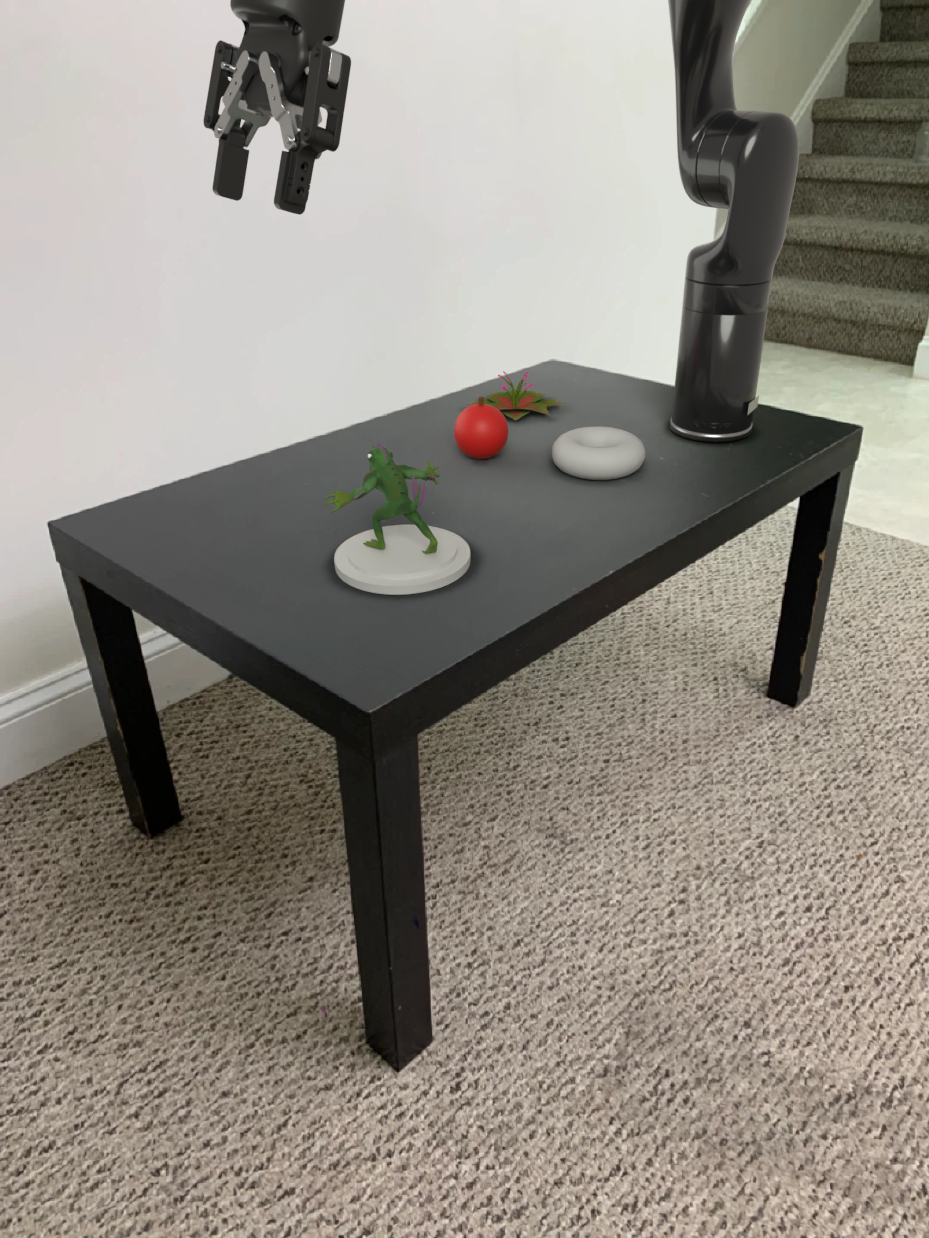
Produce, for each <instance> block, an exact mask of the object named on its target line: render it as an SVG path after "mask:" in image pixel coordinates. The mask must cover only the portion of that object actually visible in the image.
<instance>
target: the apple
mask: <svg viewBox="0 0 929 1238" xmlns="http://www.w3.org/2000/svg"><path fill="white" fill-rule="evenodd" d="M484 398H485V396H484V395H479V396H477V401H478V404H474V405H471V406H469V405H468V406H467V407H466V408H464V409H462V411H461V412H460V413H459V414H458V416H457V418H456V420H455V422H454V428H453V437H454V441H455V443H456V445H457V446H458V449H460V451H461V452H463V453H464V454H465V455H466V456H468V457H470V458H472V459H477V460H485V459H489V458H492V457H494V456H496V455H497V454H499V453H500V452H501V451H502V450H503V449H504V447H505V445H506V443H507V441H508V437H509V423H508V420H507V418H506V417H505V414H503V413H502V412H501V410H498V409H497V408H495V407H494V406H492V405H489V404H484V400H485V399H484Z"/></svg>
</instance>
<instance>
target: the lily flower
mask: <svg viewBox="0 0 929 1238" xmlns="http://www.w3.org/2000/svg"><path fill="white" fill-rule="evenodd" d="M502 373H503V374H504V375H506V378H505V377H504V376H502V375H501V374H497V377H499V378H502V379H503V380H504V381H505V382H504V385H505V386H507V387H508V388H509V389H508V388H507V387H505V386H503V385H500V388H501V389H502V390H504V391H498V392H497V391H496V392H494V393H491V394H486V395H484V397H486V398H487V399H484V404H489V405H492V406H494V407H495V408H497V409H498V410H499V411H500V412H501V413H502V414H503V415H504V416H507V417H508V418H511V419H512V420H514V421H517V420H519V419H521V417H524V416H525V415H528V414H529V413H530V412H531V411H534V412H537V413H541V414H545V415H547V416H550V413H549V411H548V407H551V406H559V405H566V403H565V402H560V401H556V400H555V399H549V398H545V399H543V398H544V396H547V394H546V393H541V392H536V391H532V390H529V389H530V388H532V387H533V386H534V385H535V384H534V383H533V382H532V383H530V384H529V385H528V386H527V387H525V386H526V385H527V384H528V383H527V382H524V381H525V379H527V378H528V377H529V375H530V374H529V370H527V371H526V372H525V373H524V375H523V376H522V378H521V379H520V381H519V382H518V385H517V388H515V386H514V384H513V382H512V380H511V379H510V377H509V376H508V374H507V372H505V370H503V371H502ZM523 387H525V388H524V390H522V389H523ZM527 390H528V391H527ZM474 404H478V400H477V401H474V402H472V403H469V404H467V406H468V407H469V406H471V405H474Z"/></svg>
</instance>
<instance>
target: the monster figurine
mask: <svg viewBox="0 0 929 1238" xmlns="http://www.w3.org/2000/svg"><path fill="white" fill-rule="evenodd" d="M368 441H369V442H370V443H371V445H372V449H371V450H369V451H368V452H367V460H368V462H369V464H368V469H369V472H367V473H366V474H365V475H364V477H363V479H362V480H363V481H362V486H358V487H356V488H354V489H353V490H352V491H350V492H345V491H342V490H339V489H333V492H334V493H329V494H328V495H326V497H325V498H324V500H328V499H330V498H334V499H331V500H329V501H327V502H326V503H324V504H323V506H324V507H325V506H328V505H332V504H333V505H336V507H335V508H334V509H333V510H332V511H331V512H330V513H331V514H332V513H334V512H336V511H338V510H340V509H342V508H343V507H345V506H347V505H348V504H350V503H351V502H353V501H357V500H360V499H362V498H364V497H366V496H367V495H369V493H371V492H372V491H373V490H374V489H376V490H378V491H380V493H382V499H383V504H381V506H379V507H378V508H377V509H376V510H375V511H374V512H373V513H372V517H371V521H372V528H371V529H367V530H365V531H361V532H359V533H357V534H355V535H353V536H351V537H349V538H348V539H346V540H344V542H342V543H341V544H340V545H339V546H338V547H337V548H336V550H335V553H334V555H333V556H334V557H333V562H334V569H335V573H336V575H337V576H338V578H339V579H341V581H342V582H344V583H345V584H347V585H348V586H351V587H353V588H355V589H358V590H361V591H364V592H368V593H373V594H380V595H390V596H391V595H394V596H396V595H397V596H401V595H412V594H413V595H414V594H422V593H427V592H431V591H435V590H437V589H441V588H443V587H445V586H448V585H450V584H453V583H454V582H456V581H458V580H459V579H460V578H461V577H463V576H464V575H465V574H466V573H467V571H468V570H469V568H470V567H471V561H472V559H471V548H470V545H469V544H468V542H467V541H466V539H464V538H462V536H460V535H459V534H456V533H455V532H453V531H450V530H447V529H445V528H441V527H437V526H431V525H428V524H427V523H426V522H425V521H424V520H423V519H422V517H421V515H420V514H419V512H418V511H417V510H418V508H419V507H422V506H423V505H424V503H425V501H426V496H427V482H426V481H431V482H433V483H435V485H438V484H439V482H438V480H437V478H440V477H441V474H440V473H436V472H435V471H436V470H438V469H439V466H437V465H436V466H432V465H431V463H430V460H429V459H427V460H426V467H425V469H423V470H421V469H418V468H416V467H413V466H409V465H406V464H399V465H398V464H396V463H395V461H394V459H393V452H391V451H389V450H388V449H387V448H386V447H384V445H382V444H381V442H378V443H377V444H376V445H374V444H373V442H372V440H371V438H368ZM419 479H421V480H423V481H425V482H424V485H422V483H421V482H419V483H417V481H416V480H419ZM406 480H411V486H412V487H411V488H412V494H413V501H412V500H411V499H410V497H409V490H408V485H407V481H406ZM401 515H403V516H404V517H405V518H406V519H408V520H409V522H412V523H413V524H394V525H393V524H392V525H386V526H382V524H381V521H384V520H390V519H393V518H395V517H398V516H401Z"/></svg>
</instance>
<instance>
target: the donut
mask: <svg viewBox="0 0 929 1238" xmlns="http://www.w3.org/2000/svg"><path fill="white" fill-rule="evenodd" d="M551 455H552V461H553V462H554V465H555V466H556V467H557V468H559V470H560V471H561V472H562V473H565V474H567V475H569V476H572V477H575V478H578V479H579V478H580V479H582V480H591V481H608V480H610V481H611V480H617V479H621V478H624V477H627V476H630V475H631V474H633V473H635V472H636V471H637V470H639V469H640V468H641V466H642V465H643V463H644V461H645V458H646V449H645V446H644V443H643V442H642V440H641V439H640V438H639V437H637V436H636V435H635V434H634V433H631V432H629V431H626V430H624V429H621V428H616V427H609V426H583V427H578V428H574V429H571V430H570V429H569V430H568V431H565V432H564V433H562V434H561V435H559V436H558V437H557V438H556V439H555V441H554V443H553V444H552V447H551Z"/></svg>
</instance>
